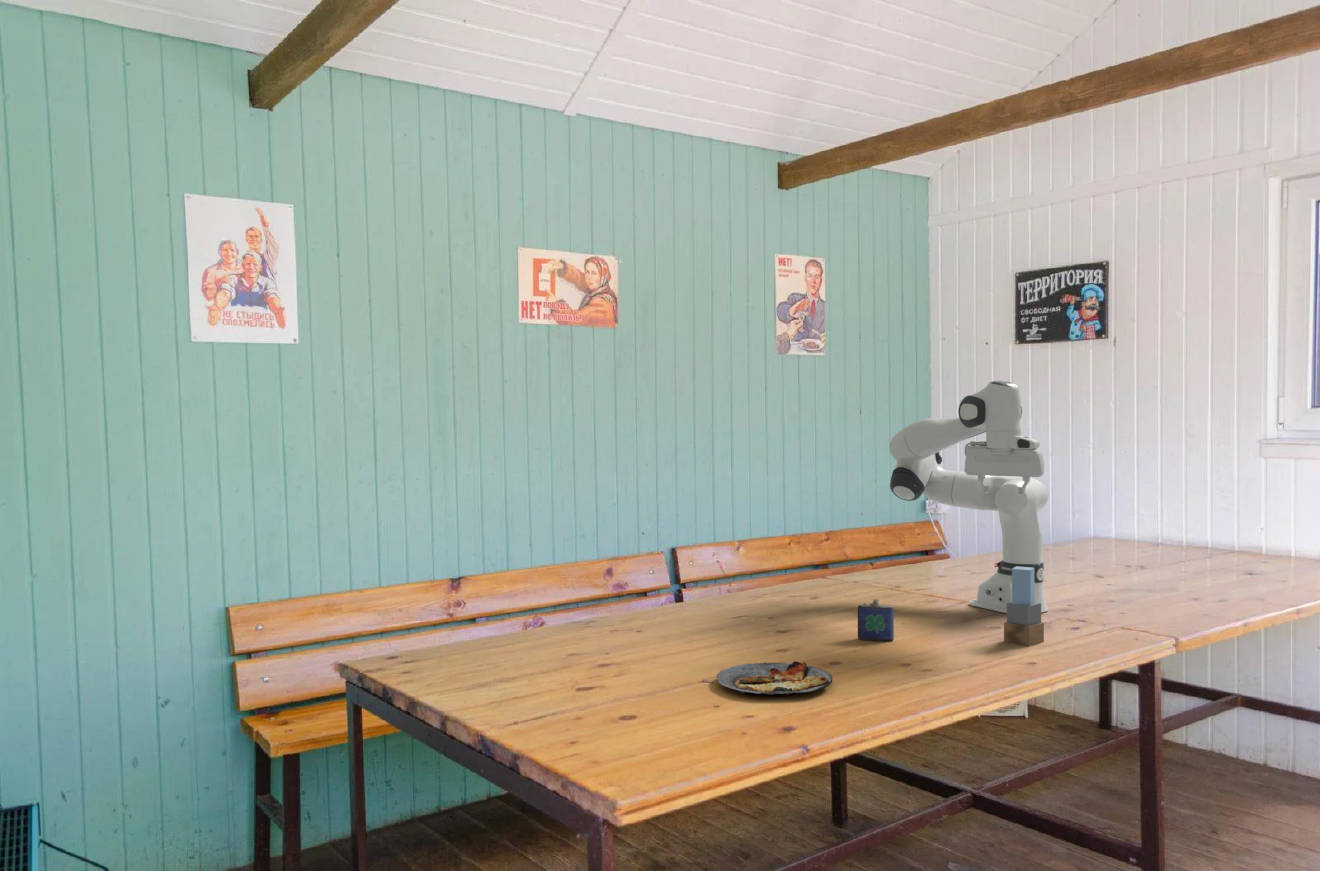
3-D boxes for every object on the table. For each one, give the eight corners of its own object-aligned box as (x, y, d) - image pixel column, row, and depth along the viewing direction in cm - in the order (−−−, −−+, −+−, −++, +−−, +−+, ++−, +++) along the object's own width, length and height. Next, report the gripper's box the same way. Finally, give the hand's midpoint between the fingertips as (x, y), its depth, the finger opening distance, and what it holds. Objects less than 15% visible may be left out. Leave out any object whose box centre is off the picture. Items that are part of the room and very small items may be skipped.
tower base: (1004, 641, 250) (1003, 622, 249) (1018, 637, 254) (1018, 618, 254) (1029, 646, 244) (1029, 626, 244) (1043, 642, 249) (1043, 622, 248)
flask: (894, 639, 252) (893, 598, 252) (893, 642, 249) (893, 600, 249) (857, 637, 255) (857, 597, 254) (857, 640, 252) (856, 599, 252)
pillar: (1012, 603, 248) (1011, 568, 248) (1016, 600, 252) (1016, 566, 252) (1030, 605, 246) (1030, 570, 246) (1034, 602, 250) (1034, 567, 249)
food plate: (821, 669, 223) (820, 654, 223) (843, 700, 200) (843, 683, 200) (712, 674, 222) (712, 658, 222) (722, 705, 199) (722, 688, 199)
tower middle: (1006, 622, 250) (1006, 602, 250) (1020, 618, 253) (1020, 599, 253) (1027, 626, 245) (1027, 606, 245) (1041, 622, 249) (1041, 603, 248)
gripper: (961, 441, 263) (961, 492, 263) (1040, 442, 252) (1040, 495, 252) (967, 441, 268) (968, 490, 269) (1045, 441, 257) (1045, 493, 257)
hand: (1003, 493), depth 260 cm, fingers open, 8 cm apart
